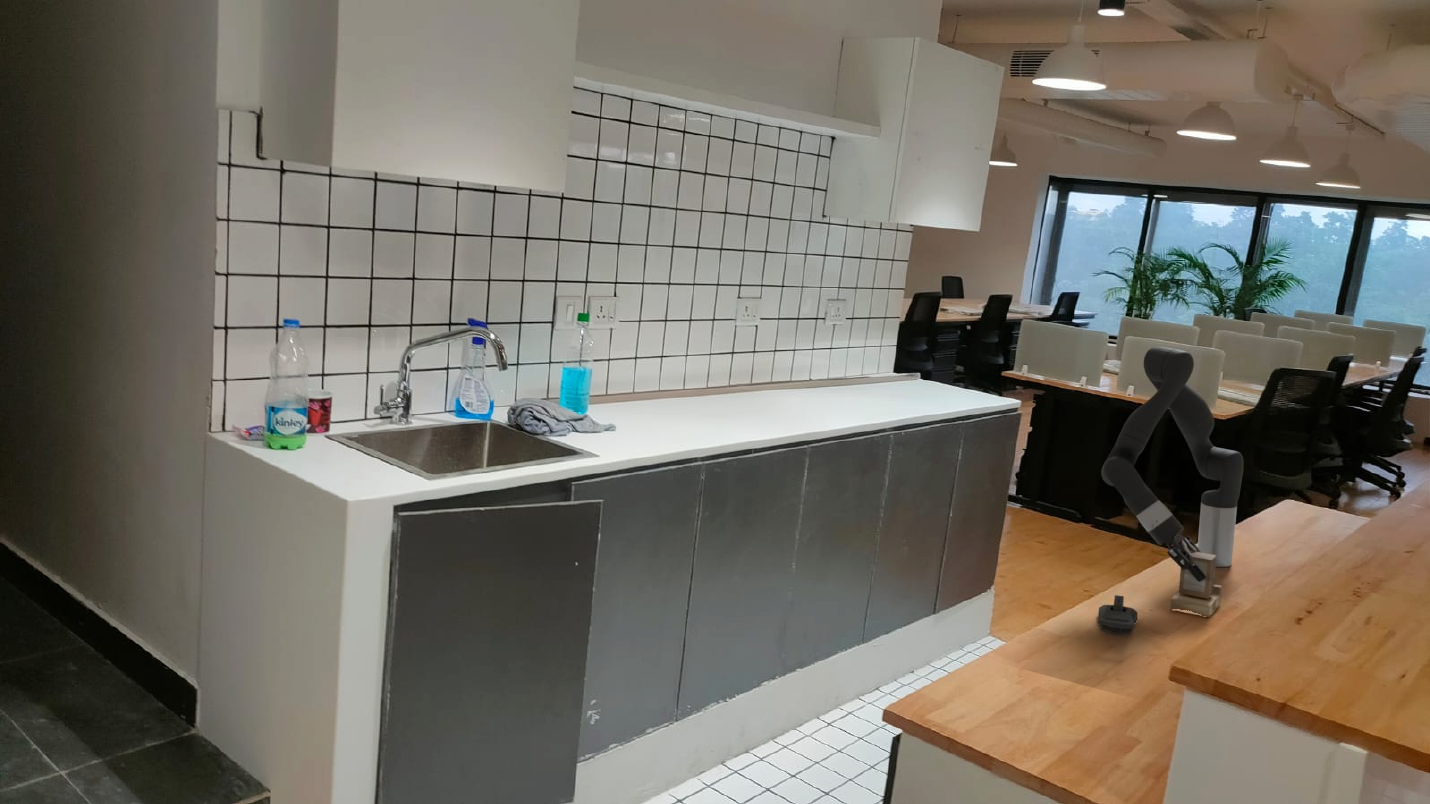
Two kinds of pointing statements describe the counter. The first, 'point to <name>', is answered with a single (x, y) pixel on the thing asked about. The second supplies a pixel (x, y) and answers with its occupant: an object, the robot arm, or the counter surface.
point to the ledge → (1197, 602)
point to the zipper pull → (1117, 617)
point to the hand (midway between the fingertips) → (1205, 576)
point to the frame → (1189, 581)
